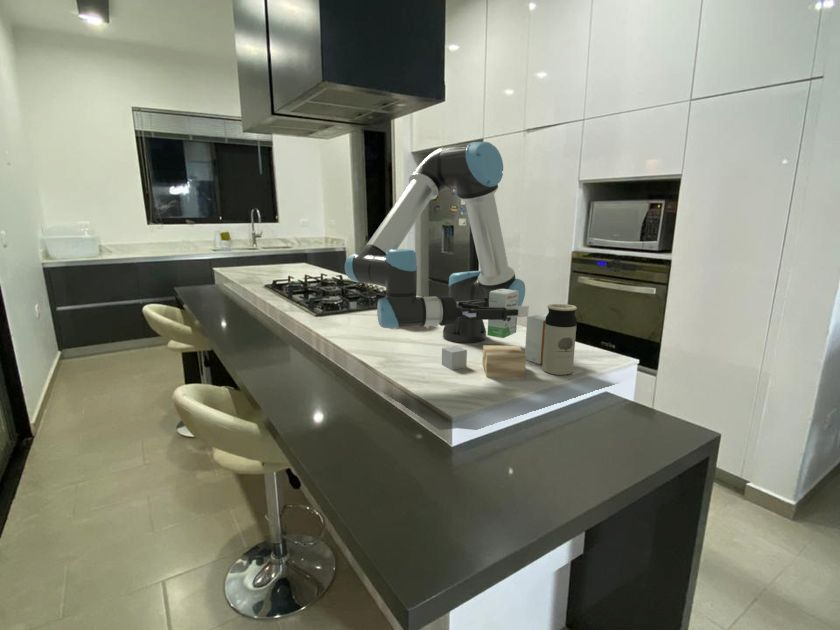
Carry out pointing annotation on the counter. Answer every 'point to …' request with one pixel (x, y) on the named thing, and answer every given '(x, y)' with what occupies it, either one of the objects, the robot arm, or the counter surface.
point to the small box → (535, 338)
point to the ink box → (502, 300)
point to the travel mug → (559, 339)
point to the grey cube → (454, 357)
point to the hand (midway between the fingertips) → (519, 307)
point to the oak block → (503, 361)
